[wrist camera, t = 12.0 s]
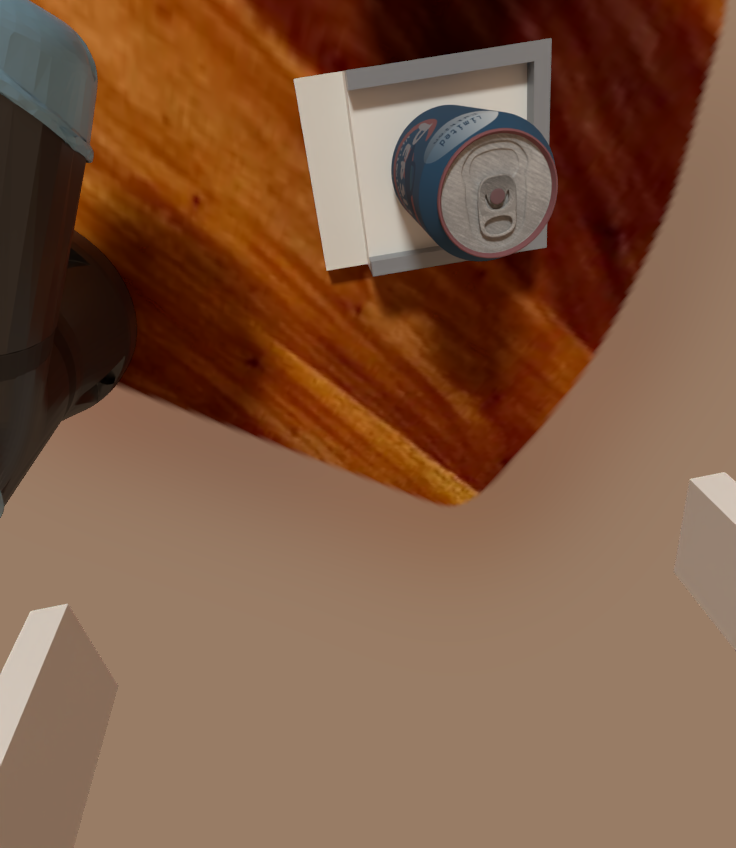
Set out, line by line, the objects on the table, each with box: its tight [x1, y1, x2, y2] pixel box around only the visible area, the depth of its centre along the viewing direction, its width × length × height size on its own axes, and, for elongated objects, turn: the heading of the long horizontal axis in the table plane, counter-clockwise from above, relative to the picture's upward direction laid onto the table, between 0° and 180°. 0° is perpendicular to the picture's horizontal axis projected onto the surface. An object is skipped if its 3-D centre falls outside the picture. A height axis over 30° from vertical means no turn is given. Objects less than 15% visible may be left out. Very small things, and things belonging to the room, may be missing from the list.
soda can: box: [391, 105, 558, 261], centre depth 32 cm, size 7×7×12 cm
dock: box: [294, 38, 552, 276], centre depth 38 cm, size 15×12×5 cm
